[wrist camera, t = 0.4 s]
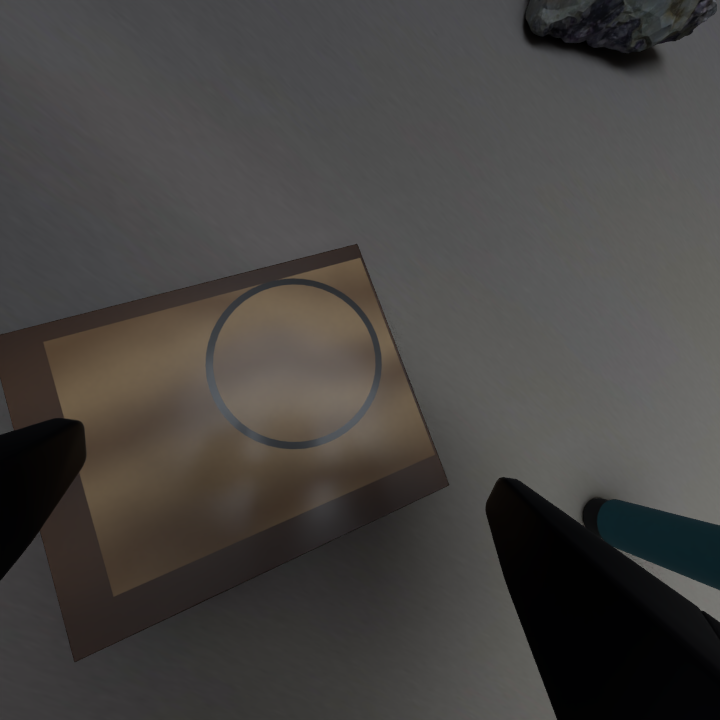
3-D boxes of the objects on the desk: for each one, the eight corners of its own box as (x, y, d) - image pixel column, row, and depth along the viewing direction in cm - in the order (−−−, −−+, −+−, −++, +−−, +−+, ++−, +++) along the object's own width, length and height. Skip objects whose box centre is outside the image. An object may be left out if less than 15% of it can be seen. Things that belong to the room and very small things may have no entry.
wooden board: (446, 484, 20) (451, 485, 20) (79, 656, 16) (71, 665, 15) (356, 246, 22) (357, 242, 21) (-5, 339, 17) (-14, 336, 17)
